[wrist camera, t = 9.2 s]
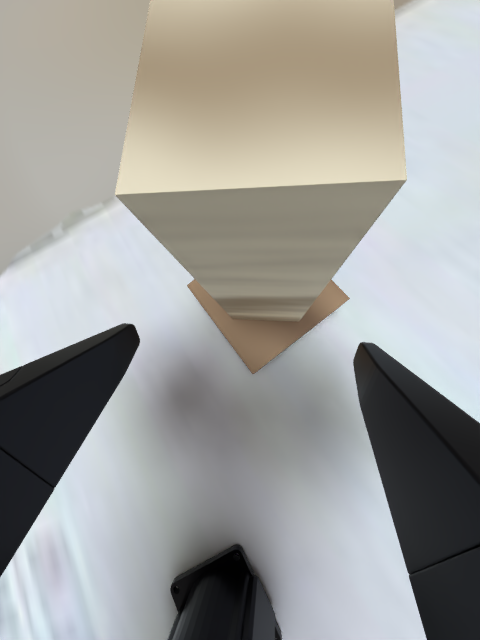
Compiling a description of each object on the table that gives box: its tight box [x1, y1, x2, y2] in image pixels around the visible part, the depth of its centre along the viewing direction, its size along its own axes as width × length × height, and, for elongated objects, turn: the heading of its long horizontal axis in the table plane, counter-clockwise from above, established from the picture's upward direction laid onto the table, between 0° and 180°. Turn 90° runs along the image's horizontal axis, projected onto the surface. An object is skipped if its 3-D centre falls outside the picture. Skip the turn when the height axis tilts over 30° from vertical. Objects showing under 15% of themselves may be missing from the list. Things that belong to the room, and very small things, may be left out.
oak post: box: [115, 0, 407, 321], centre depth 10 cm, size 5×5×13 cm
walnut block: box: [187, 279, 350, 374], centre depth 19 cm, size 9×9×4 cm
